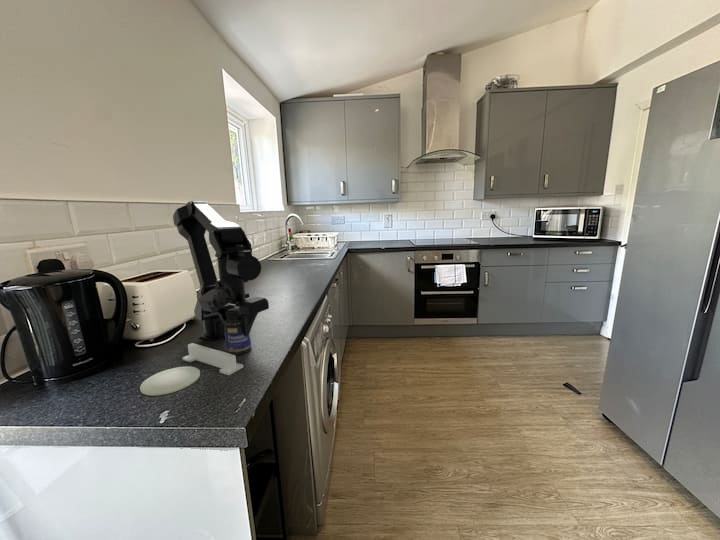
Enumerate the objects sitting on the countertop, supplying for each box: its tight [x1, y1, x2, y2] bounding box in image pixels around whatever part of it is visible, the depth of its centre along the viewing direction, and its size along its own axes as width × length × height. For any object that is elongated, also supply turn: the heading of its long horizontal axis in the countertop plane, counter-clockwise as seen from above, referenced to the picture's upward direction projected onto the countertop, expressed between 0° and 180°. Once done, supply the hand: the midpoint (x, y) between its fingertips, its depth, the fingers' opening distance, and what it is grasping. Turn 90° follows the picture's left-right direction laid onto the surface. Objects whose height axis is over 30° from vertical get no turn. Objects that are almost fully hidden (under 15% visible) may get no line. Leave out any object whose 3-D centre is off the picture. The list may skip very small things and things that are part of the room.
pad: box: [139, 365, 201, 397], centre depth 64 cm, size 11×11×1 cm
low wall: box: [182, 342, 244, 376], centre depth 71 cm, size 17×4×4 cm, turn 62°
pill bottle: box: [224, 307, 252, 356], centre depth 78 cm, size 6×6×11 cm
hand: (237, 333), depth 78 cm, fingers closed on pill bottle, 6 cm apart
